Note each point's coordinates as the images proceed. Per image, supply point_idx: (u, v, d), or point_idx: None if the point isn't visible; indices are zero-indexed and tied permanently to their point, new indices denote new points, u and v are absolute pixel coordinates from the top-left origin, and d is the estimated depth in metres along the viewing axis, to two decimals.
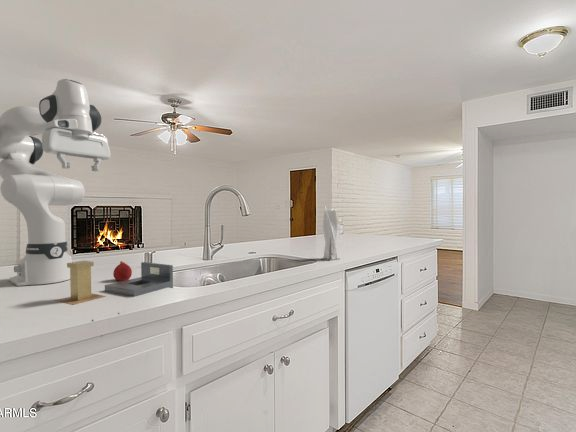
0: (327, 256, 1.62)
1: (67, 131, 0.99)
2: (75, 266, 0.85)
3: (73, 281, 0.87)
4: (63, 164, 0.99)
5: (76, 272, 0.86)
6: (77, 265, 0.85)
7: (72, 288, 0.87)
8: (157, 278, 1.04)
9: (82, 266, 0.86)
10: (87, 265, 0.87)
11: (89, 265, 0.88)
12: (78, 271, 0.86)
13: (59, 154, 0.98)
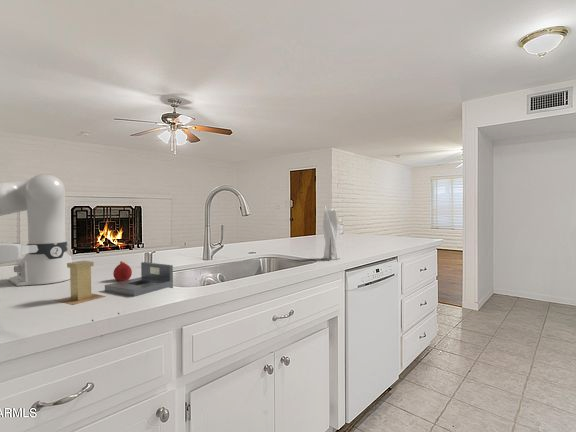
0: (327, 256, 1.62)
1: None
2: (75, 266, 0.85)
3: (73, 281, 0.87)
4: (31, 248, 0.73)
5: (76, 272, 0.86)
6: (77, 265, 0.85)
7: (72, 288, 0.87)
8: (157, 278, 1.04)
9: (82, 266, 0.86)
10: (87, 265, 0.87)
11: (89, 265, 0.88)
12: (78, 271, 0.86)
13: None
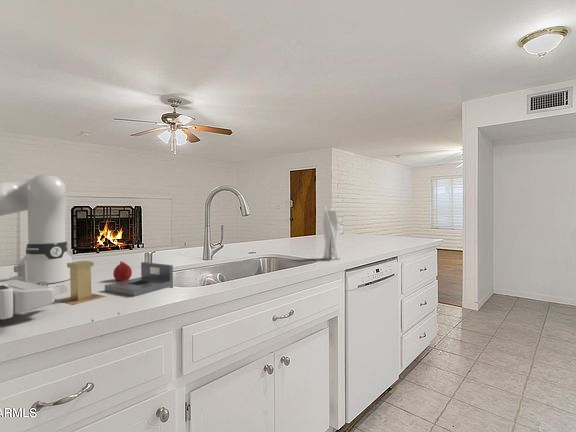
0: (327, 256, 1.62)
1: (10, 287, 0.70)
2: (75, 266, 0.85)
3: (73, 281, 0.87)
4: (62, 289, 0.79)
5: (76, 272, 0.86)
6: (77, 265, 0.85)
7: (72, 288, 0.87)
8: (157, 278, 1.04)
9: (82, 266, 0.86)
10: (87, 265, 0.87)
11: (89, 265, 0.88)
12: (78, 271, 0.86)
13: None
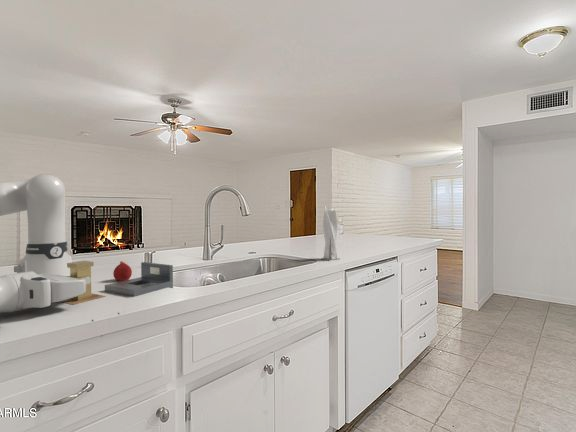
0: (327, 256, 1.62)
1: (47, 278, 0.77)
2: (75, 266, 0.85)
3: None
4: (86, 280, 0.86)
5: (76, 272, 0.86)
6: (77, 265, 0.85)
7: None
8: (157, 278, 1.04)
9: (82, 266, 0.86)
10: (87, 265, 0.87)
11: (89, 265, 0.88)
12: (78, 271, 0.86)
13: None
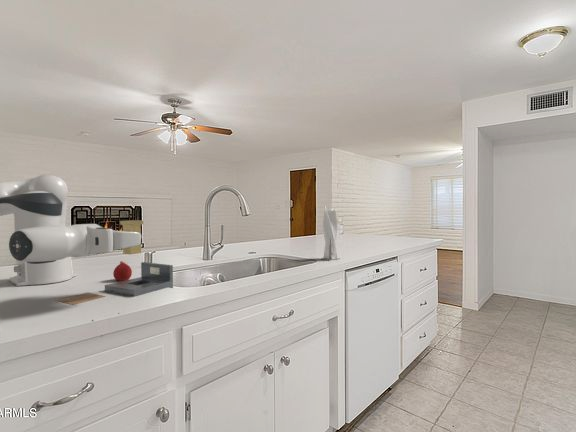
0: (327, 256, 1.62)
1: None
2: (128, 223, 0.94)
3: None
4: None
5: (129, 228, 0.95)
6: (130, 222, 0.94)
7: None
8: (157, 278, 1.04)
9: (134, 223, 0.95)
10: (138, 223, 0.96)
11: (139, 223, 0.97)
12: (131, 227, 0.95)
13: None
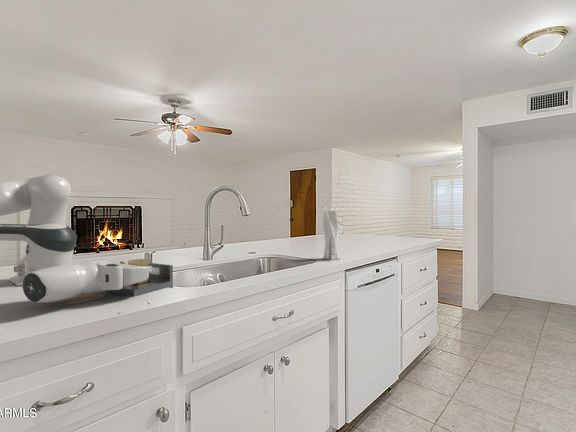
0: (327, 256, 1.62)
1: None
2: (136, 263, 0.96)
3: None
4: (149, 268, 0.96)
5: None
6: (138, 263, 0.96)
7: None
8: (157, 278, 1.04)
9: (142, 263, 0.97)
10: (145, 262, 0.98)
11: (147, 263, 0.99)
12: None
13: None
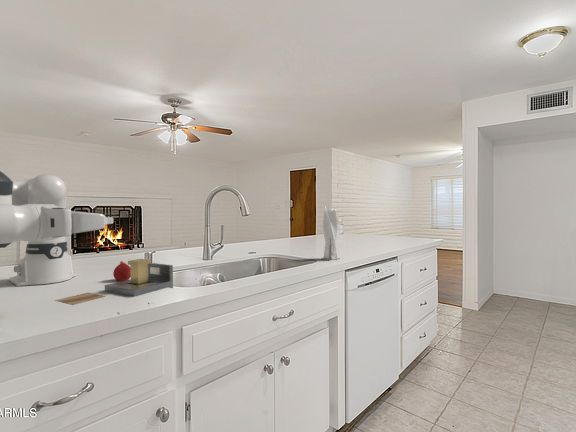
0: (327, 256, 1.62)
1: None
2: (136, 263, 0.96)
3: (133, 277, 0.97)
4: (109, 220, 0.84)
5: (136, 269, 0.97)
6: (138, 263, 0.96)
7: (132, 283, 0.98)
8: (157, 278, 1.04)
9: (142, 263, 0.97)
10: (145, 262, 0.98)
11: (147, 262, 0.99)
12: (138, 267, 0.97)
13: None
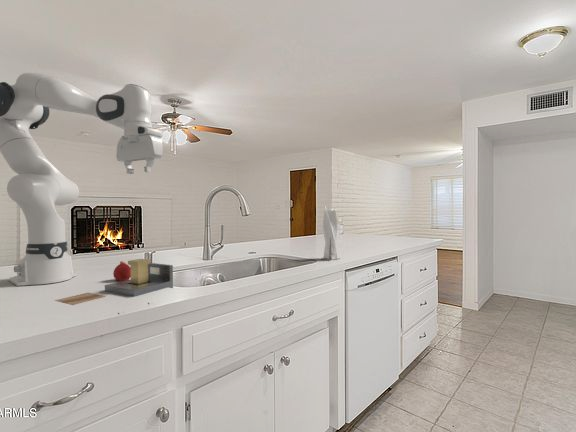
0: (327, 256, 1.62)
1: None
2: (136, 263, 0.96)
3: (133, 277, 0.97)
4: (149, 168, 1.06)
5: (136, 269, 0.97)
6: (138, 263, 0.96)
7: (132, 283, 0.98)
8: (157, 278, 1.04)
9: (142, 263, 0.97)
10: (145, 262, 0.98)
11: (147, 262, 0.99)
12: (138, 267, 0.97)
13: (152, 159, 1.06)
